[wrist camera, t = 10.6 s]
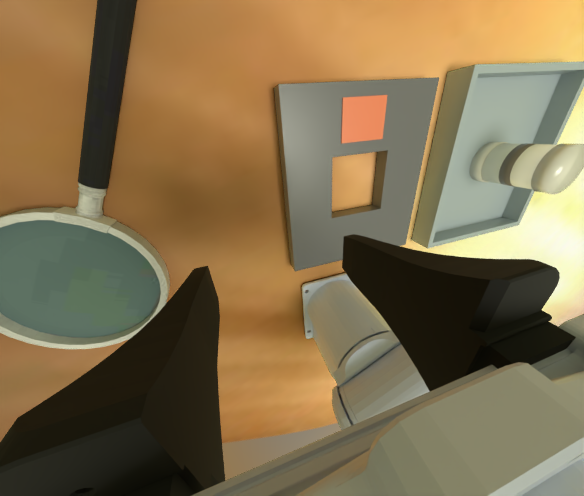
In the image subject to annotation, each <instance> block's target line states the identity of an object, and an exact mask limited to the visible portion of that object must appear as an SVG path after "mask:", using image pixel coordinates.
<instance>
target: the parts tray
mask: <svg viewBox="0 0 584 496" xmlns="http://www.w3.org/2000/svg"><path fill="white" fill-rule="evenodd" d="M583 87H584V62H553V63H516V64H478V65H472V66H468V67H465V68H461V69H457V70H454V71H450V72H448V73H447V77H446V82H445V87H444V91H443V96H442V100H441V105H440V110H439V114H438V119H437V124H436V128H435V133H434V138H433V142H432V147H431V152H430V156H429V161H428V166H427V170H426V175H425V179H424V184H423V189H422V193H421V198H420V203H419V207H418V212H417V217H416V221H415V226H414V231H413V235H412V240H413V241H415V242H417V243H419V244H420V245H422V246H424V247H426V248H431V247H434V246H438V245H442V244H446V243H450V242H454V241H458V240H462V239H466V238H470V237H474V236H478V235H481V234H485V233H489V232H493V231H497V230H501V229H505V228H509V227H513V226H517V225H519V223H520V221H521V219H522V217H523V215H524V213H525V210H526V208H527V206H528V204H529V202H530V200H531V198H532V196H533V193H534V190H532V189H526V188H521V187H513V186H507V185H503V184H498V183H492V182H481V181H475V180H473V179H472V178H471V176H470V165H471V162H472V160H473V158H474V156H475V154H476V153H477V151H478V150H479V149H480V148H481V147H482V146H483V145H485V144H487V143H489V142H507V143H518V144H523V143H530V144H552V145H556V144H557V142H558V140H559V138H560V136H561V134H562V132H563V129H564V127H565V125H566V123H567V121H568V119H569V117H570V115H571V112H572V110H573V108H574V106H575V104H576V102H577V100H578V97H579V95H580V93H581V91H582V89H583Z"/></svg>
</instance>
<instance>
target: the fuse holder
mask: <svg viewBox="0 0 584 496" xmlns="http://www.w3.org/2000/svg"><path fill="white" fill-rule="evenodd" d="M438 81H439V78H417V79H393V80H369V81H345V82H322V83H298V84H278V85H277V86H276V87H275V88H274V96H275V106H276V116H277V127H278V137H279V147H280V158H281V168H282V178H283V189H284V199H285V210H286V220H287V230H288V241H289V251H290V261H291V265H292V267H293V269H294V271H298V270H302V269H306V268H311V267H315V266H319V265H323V264H327V263H331V262H335V261H339V260H343V240H344V236H348V235H352V234H356V235H361V236H365V237H368V238H372V239H375V240H379V241H382V242H386V243H389V244H393V245H396V246H401V245H405V244H406V239H407V234H408V229H409V224H410V219H411V214H412V209H413V204H414V199H415V194H416V189H417V185H418V180H419V175H420V170H421V165H422V160H423V155H424V150H425V145H426V140H427V135H428V130H429V125H430V120H431V115H432V110H433V105H434V100H435V95H436V91H437V86H438ZM370 152H377V160H376V170H375V179H374V189H373V198H372V205H368V206H363V207H358V208H352V209H347V210H342V211H336V212H332V157H338V156H346V155H354V154H362V153H370Z"/></svg>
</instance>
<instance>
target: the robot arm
mask: <svg viewBox="0 0 584 496" xmlns="http://www.w3.org/2000/svg"><path fill="white" fill-rule="evenodd" d="M342 268H343V269H344V271H345V272H346V273H343V274H340V275H336V276H332V277H328V278H324V279H320V280H316V281H313V282H309V283H305V284H303V285H302V299H303V313H304V327H305V337H306V338H307V339H310V338H314V340H315V342H316V344H317V346H318V348H319V350H320V352H321V355H322V357H323V359H324V361H325V363H326V365H327V367H328V369H329V372H330V373H331V375H332V377H333V378H334V379H335V380H336V383H337V386H335V387H334V388H333V390H332V406H333V410H334V413H335V416H336V419H337V421H338V424H339V426H340V428H341V431H338V432H336V433H334V434H332V435H329V436H327V437H324V438H322V439H320V440H318V441H316V442H313V443H311V444H308V445H306V446H304V447H302V448H299V449H297V450H295V451H292V452H290V453H288V454H286V455H283V456H281V457H279V458H277V459H274V460H272V461H269V462H267V463H265V464H263V465H260V466H258V467H256V468H253V469H251V470H249V471H247V472H244V473H242V474H240V475H237V476H235V477H233V478H230V479H228V480H226V481H225V474H224V462H223V452H222V439H221V425H220V411H219V395H218V375H217V357H218V339H219V321H220V314H219V301H218V296H217V293H216V290H215V287H214V284H213V281H212V278H211V275H210V271H209V268H208V266H205V267H200V268H196V269H194V270H193V271H192V272H191V274H190V275H189V276H188V278H187V279H186V280H185V282H184V283H183V284H182V285H181V287H180V288H179V289H178V291H177V292H176V293H175V294H174V295H173V297H172V298H171V299H170V300H169V301H168V302H167V303H166V305H165V306H164V307H163V308H162V309H161V310H160V311H159V312H158V313H157V314H156V315H155V316H154V317H153V318H152V319H151V320H150V321H149V322H148V323H147V324H146V325H145V326H144V327H143V328H142V329H141V330H140V331H139V332H138V333H136V334H135V335H134V336H133V337H132V338H130V339H129V340H128V341H127V342H126V343H124V344H123V345H122V346H121V347H120V348H118V349H117V350H116V351H115V352H114V353H112V354H111V355H110V356H108V357H107V358H106V359H104V360H103V361H102V362H100V363H99V364H98V365H96V366H95V367H94V368H92V369H91V370H90V371H88V372H87V373H85V374H84V375H83V376H81V377H80V378H78V379H77V380H75V381H74V382H72V383H71V384H70V385H68V386H67V387H65V388H64V389H62V390H60V391H59V392H57V393H56V394H54V395H53V396H51V397H50V398H48V399H47V400H45V401H43V402H42V403H40V404H39V405H37V406H36V407H34V408H33V409H31V410H30V411H28V412H26V413H25V414H23V415H22V416H20V417H18V418H17V420H16V421H15V422H14V424H13V425H12V427H11V428H10V429H9V431H8V432H7V434H6V435H5V437H4V438H3V439H2V441H1V442H0V496H584V462H583V461H584V314H582V315H580V316H578V317H575V318H573V319H571V320H568V321H566V322H564V323H563V324H561V325H560V326H559V327H557V326H556V325H554V324H552V323H550V322H548V321H550V320H551V319H552V317H551V315H549V314H547V313H546V312H544V311H542V310H541V309H542V308H543V306H544V305H545V303H546V302H547V300H548V299H549V297H550V296H551V294H552V293H553V291H554V289H555V288H556V286H557V284H558V281H559V272H558V270H557V269H556V268H555V267H552V266H550V265H547V264H545V263H542V262H539V261H535V260H530V259H480V258H466V257H456V256H447V255H440V254H433V253H428V252H422V251H417V250H412V249H408V248H404V247H400V246H396V245H393V244H389V243H386V242H382V241H379V240H375V239H372V238H368V237H365V236H361V235H356V234H352V235H348V236H344V240H343V263H342ZM306 290H307V291H306Z"/></svg>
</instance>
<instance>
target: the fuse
mask: <svg viewBox="0 0 584 496" xmlns="http://www.w3.org/2000/svg"><path fill="white" fill-rule="evenodd" d="M583 167H584V144H559V145H552V144H530V143H523V144H518V143H507V142H489V143H487V144H485V145H483V146H482V147H481V148H480V149H479V150H478V151H477V153H476V154H475V156H474V158H473V160H472V162H471V165H470V176H471V178H472V179H473V180H475V181H481V182H492V183H498V184H503V185H507V186H513V187H521V188H526V189H532V190H534V191H537V192H543V193H548V194H557V193H560V192H561V191H563V190H564V189H566V188H567V187H568V186H569V185H570V184H571V183H572V182H573V181H574V180H575V179H576V178H577V176H578V175H579V174H580V172H581V171H582V169H583Z"/></svg>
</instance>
